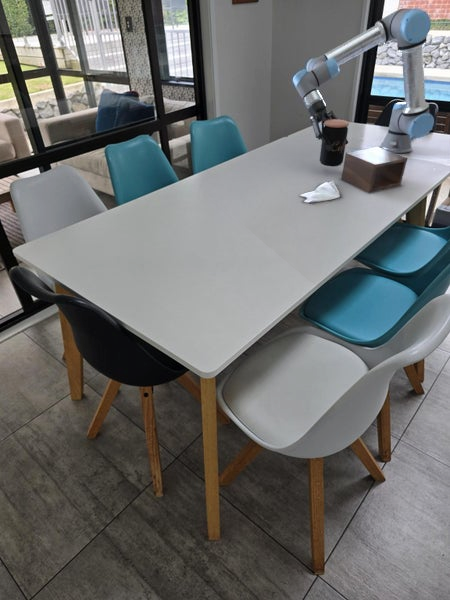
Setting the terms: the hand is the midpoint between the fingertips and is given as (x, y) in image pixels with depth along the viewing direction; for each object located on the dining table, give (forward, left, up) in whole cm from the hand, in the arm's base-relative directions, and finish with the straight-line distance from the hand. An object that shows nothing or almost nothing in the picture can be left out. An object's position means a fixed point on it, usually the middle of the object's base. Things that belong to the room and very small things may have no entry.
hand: (338, 147), depth 185 cm
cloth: (+19, +17, -12) cm, 28 cm away
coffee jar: (+1, -3, -8) cm, 9 cm away
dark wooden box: (-7, +16, -12) cm, 21 cm away
